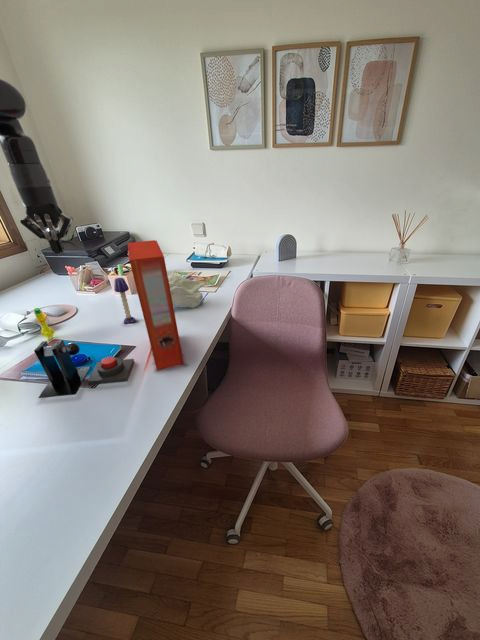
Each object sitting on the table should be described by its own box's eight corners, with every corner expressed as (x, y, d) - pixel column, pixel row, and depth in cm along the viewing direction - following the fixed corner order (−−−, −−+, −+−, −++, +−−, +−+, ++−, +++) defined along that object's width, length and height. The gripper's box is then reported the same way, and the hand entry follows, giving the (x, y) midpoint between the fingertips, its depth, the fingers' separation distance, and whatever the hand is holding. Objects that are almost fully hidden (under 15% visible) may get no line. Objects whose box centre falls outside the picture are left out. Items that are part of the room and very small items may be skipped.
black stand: (59, 372, 87) (41, 334, 80) (92, 369, 88) (76, 331, 81) (40, 400, 77) (16, 360, 70) (77, 397, 78) (57, 356, 71)
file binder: (176, 336, 103) (156, 239, 85) (185, 364, 89) (163, 255, 71) (151, 341, 100) (126, 242, 82) (157, 370, 87) (127, 260, 69)
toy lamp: (132, 317, 115) (119, 275, 106) (140, 320, 113) (128, 277, 104) (121, 323, 111) (108, 280, 102) (130, 326, 109) (117, 282, 100)
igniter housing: (89, 387, 81) (84, 376, 79) (100, 367, 88) (95, 356, 86) (128, 384, 82) (124, 372, 80) (135, 364, 89) (131, 353, 87)
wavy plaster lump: (192, 315, 130) (201, 280, 128) (198, 320, 119) (208, 282, 116) (149, 305, 123) (157, 267, 120) (151, 310, 111) (160, 268, 108)
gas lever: (69, 355, 88) (68, 343, 88) (82, 354, 88) (81, 342, 88) (41, 359, 75) (39, 344, 75) (56, 357, 75) (55, 343, 75)
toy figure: (47, 336, 104) (31, 304, 98) (58, 334, 105) (44, 302, 99) (45, 345, 99) (28, 313, 92) (57, 343, 100) (42, 310, 94)
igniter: (101, 369, 81) (98, 364, 80) (105, 362, 84) (103, 357, 83) (114, 368, 82) (112, 363, 81) (118, 361, 85) (116, 356, 84)
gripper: (-4, 186, 73) (28, 258, 82) (54, 185, 74) (79, 255, 84) (13, 184, 79) (41, 251, 88) (66, 182, 80) (88, 248, 90)
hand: (59, 253), depth 86 cm, fingers closed
